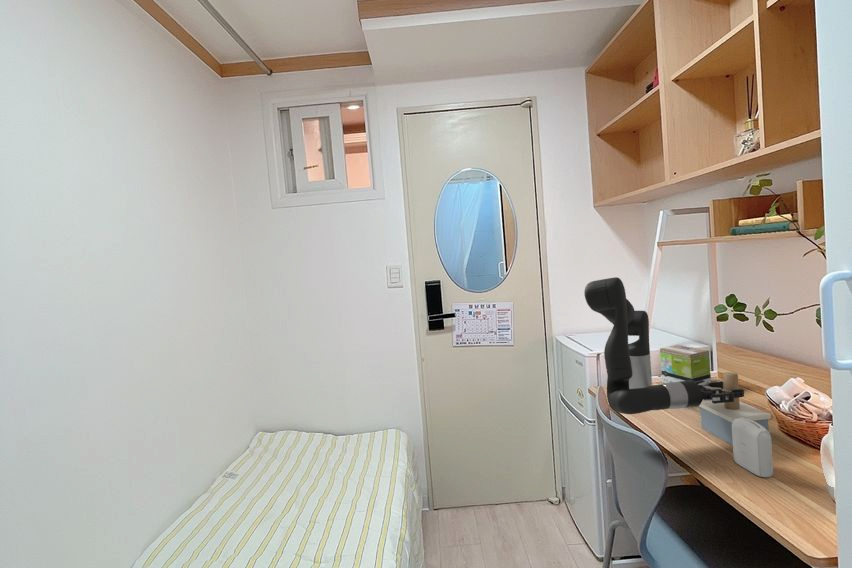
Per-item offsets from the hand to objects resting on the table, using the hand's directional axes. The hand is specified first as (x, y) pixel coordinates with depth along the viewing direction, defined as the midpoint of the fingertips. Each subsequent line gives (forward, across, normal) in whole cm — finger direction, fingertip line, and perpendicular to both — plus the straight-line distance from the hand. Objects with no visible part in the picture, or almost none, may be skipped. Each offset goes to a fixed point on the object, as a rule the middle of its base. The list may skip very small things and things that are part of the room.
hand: (733, 388), depth 144 cm
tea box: (+15, +50, +14) cm, 54 cm away
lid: (-1, 0, +7) cm, 7 cm away
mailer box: (-1, 0, +14) cm, 14 cm away
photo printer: (-10, -20, +14) cm, 27 cm away
